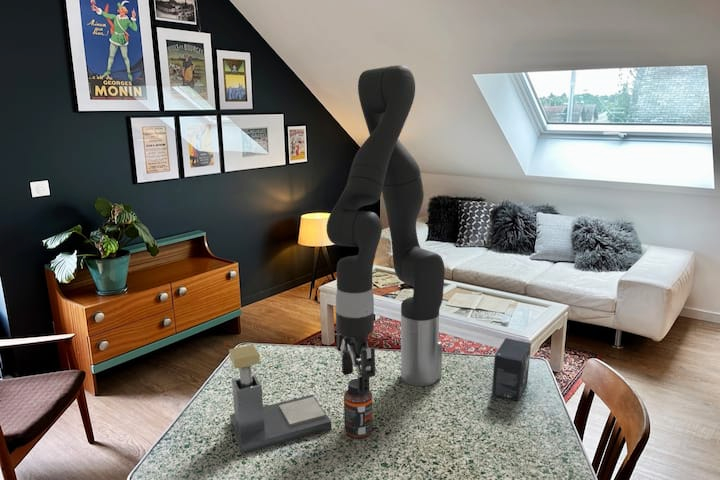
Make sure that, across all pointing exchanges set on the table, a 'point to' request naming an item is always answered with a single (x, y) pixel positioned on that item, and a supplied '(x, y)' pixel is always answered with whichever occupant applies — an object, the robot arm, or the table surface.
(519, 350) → the box
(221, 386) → the table surface
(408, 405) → the table surface
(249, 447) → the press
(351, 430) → the supplement bottle
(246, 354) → the plunger
